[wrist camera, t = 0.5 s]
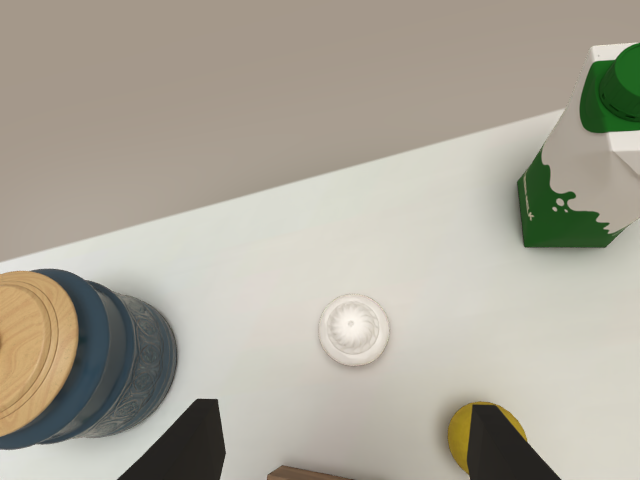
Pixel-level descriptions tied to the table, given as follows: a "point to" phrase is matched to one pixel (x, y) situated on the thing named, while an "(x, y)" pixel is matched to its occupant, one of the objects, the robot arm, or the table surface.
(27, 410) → the canister
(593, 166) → the milk carton
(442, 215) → the table surface
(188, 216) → the table surface
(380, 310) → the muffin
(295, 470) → the cabinet
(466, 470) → the lemon
